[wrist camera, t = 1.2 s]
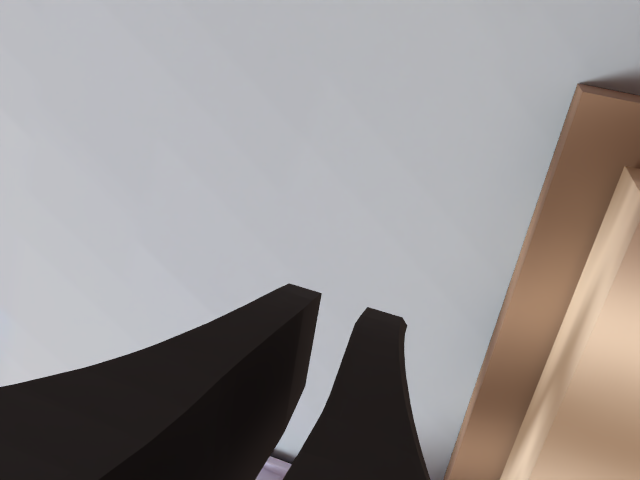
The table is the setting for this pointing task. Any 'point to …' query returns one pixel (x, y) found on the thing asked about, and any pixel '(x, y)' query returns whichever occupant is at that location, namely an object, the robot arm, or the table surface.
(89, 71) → the table surface
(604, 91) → the stool seat
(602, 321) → the folding leg
